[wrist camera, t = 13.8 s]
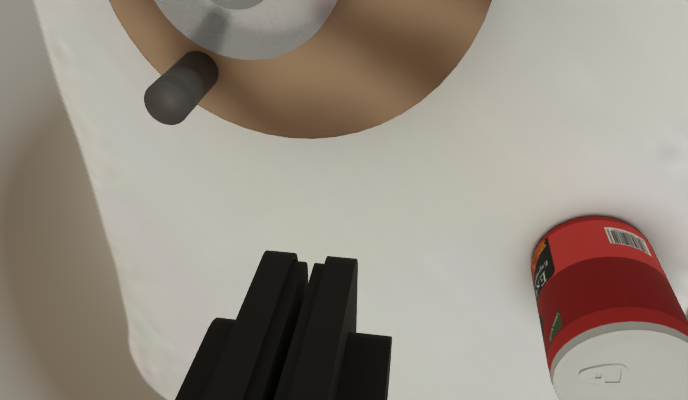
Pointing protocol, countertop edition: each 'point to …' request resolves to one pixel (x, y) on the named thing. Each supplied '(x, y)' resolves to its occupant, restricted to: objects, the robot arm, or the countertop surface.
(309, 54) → the turntable
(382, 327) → the countertop surface
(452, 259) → the countertop surface
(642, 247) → the canned food
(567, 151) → the countertop surface
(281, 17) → the cover
